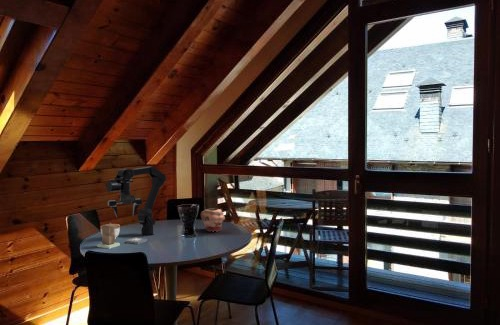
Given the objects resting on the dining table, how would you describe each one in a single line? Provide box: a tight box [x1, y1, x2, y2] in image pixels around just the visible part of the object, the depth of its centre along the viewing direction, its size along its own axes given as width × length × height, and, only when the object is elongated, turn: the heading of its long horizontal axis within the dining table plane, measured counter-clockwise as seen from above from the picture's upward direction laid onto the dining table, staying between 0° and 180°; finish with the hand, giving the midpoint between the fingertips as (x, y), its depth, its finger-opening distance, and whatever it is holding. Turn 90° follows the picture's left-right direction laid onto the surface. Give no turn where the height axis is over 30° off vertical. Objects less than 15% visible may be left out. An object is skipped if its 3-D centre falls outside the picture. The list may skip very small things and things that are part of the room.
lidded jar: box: [99, 222, 121, 240], centre depth 229 cm, size 11×11×9 cm
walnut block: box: [101, 223, 116, 245], centre depth 212 cm, size 4×5×10 cm
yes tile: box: [96, 242, 121, 250], centre depth 212 cm, size 8×9×1 cm
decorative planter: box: [200, 207, 226, 233], centre depth 250 cm, size 20×12×14 cm, turn 57°
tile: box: [125, 237, 148, 245], centre depth 221 cm, size 8×9×1 cm
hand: (125, 217), depth 227 cm, fingers open, 9 cm apart
